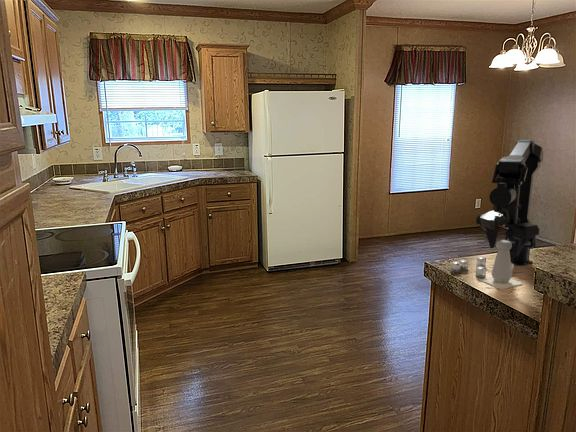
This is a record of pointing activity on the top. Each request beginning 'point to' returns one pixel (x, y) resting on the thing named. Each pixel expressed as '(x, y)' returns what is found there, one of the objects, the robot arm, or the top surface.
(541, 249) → the top surface
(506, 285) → the mat
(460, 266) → the spacer posts
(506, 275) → the salt shaker
